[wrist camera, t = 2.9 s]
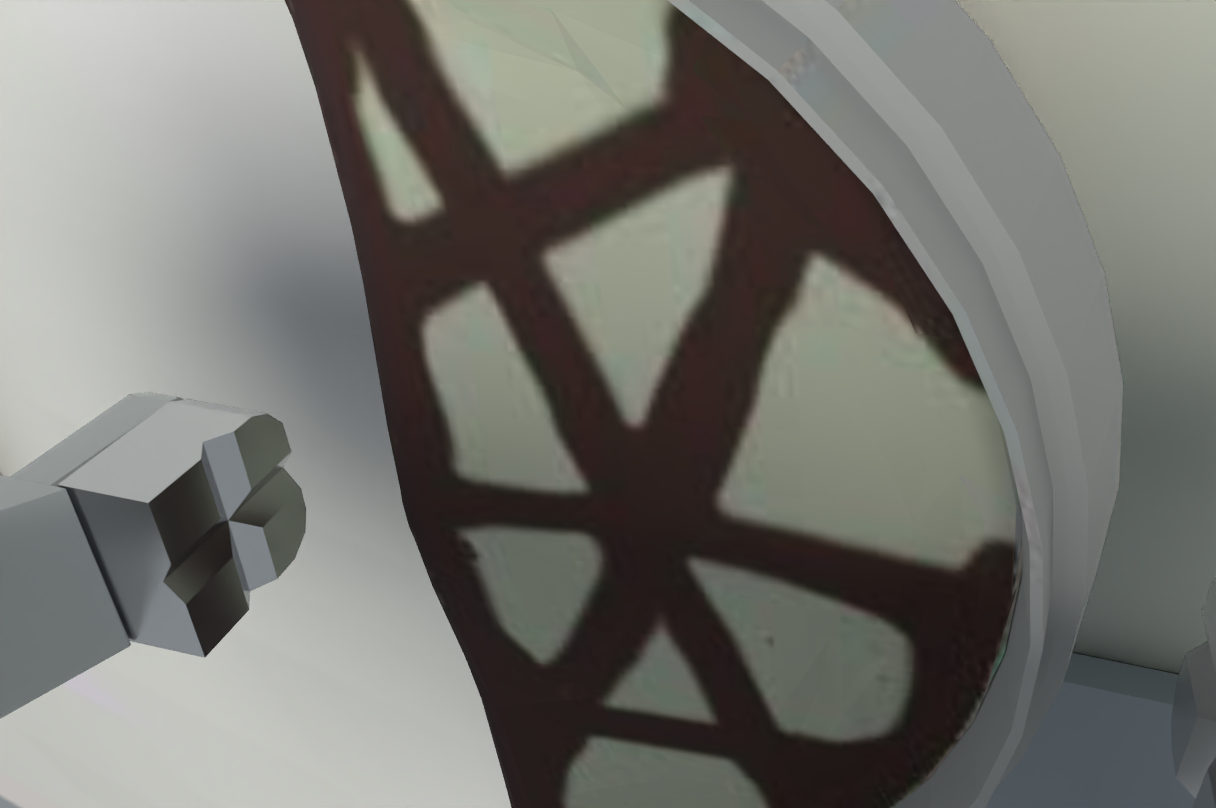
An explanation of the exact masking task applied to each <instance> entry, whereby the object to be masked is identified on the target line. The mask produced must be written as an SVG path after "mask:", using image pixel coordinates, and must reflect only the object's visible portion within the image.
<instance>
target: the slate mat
mask: <svg viewBox="0 0 1216 808" xmlns="http://www.w3.org/2000/svg"><path fill="white" fill-rule="evenodd" d="M1178 677H1179V675H1178V674H1173V673H1168V672H1163V671H1159V670H1154V669H1149V668H1144V667H1139V666H1134V665H1129V664H1124V663H1119V662H1115V661H1110V660H1105V659H1100V658H1095V657H1090V656H1085V655H1080V654H1075V653H1072V654H1071V658H1070V661H1069V664H1068V667H1067V671H1066V674H1065V677H1064V680H1063V683H1062V685H1061V687H1060V689H1059V691H1058V693H1057V695H1056V697H1055V698H1054V700H1053V702H1052V704H1051V706H1050V708H1049V710H1048V712H1047V713H1046V715H1045V717H1044V719H1043V721H1042V723H1041V725H1040V726H1039V728H1038V730H1037V732H1036V734H1035V736H1034V738H1033V739H1032V741H1031V743H1030V745H1029V747H1028V749H1027V751H1026V752H1025V754H1024V756H1023V758H1022V759H1021V760H1020V761H1019V762H1018V763H1017V764H1016V765H1015V767H1014V768H1013V769H1012V770H1011V771H1010V772H1009V773H1008V775H1007V776H1006V777H1005V778H1004V779H1003V780H1002V781H1001V782H1000V784H999V785H998V786H997V787H996V788H995V790H994V792H993V794H992V796H991V798H990V800H989V802H988V804H987V806H986V807H985V808H1192V807H1193V804H1194V802H1195V798H1194V796H1193V795H1192V794H1191V793H1190V792H1189V791H1188V790H1187V789H1186V788H1185V787H1184V786H1183V784H1182V783H1181V782H1180V781H1179V780H1178V779H1177V778H1176V775H1175V768H1174V761H1173V754H1172V741H1171V717H1172V710H1173V702H1174V695H1175V688H1176V684H1177V681H1178Z"/></svg>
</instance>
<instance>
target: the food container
mask: <svg viewBox="0 0 1216 808" xmlns="http://www.w3.org/2000/svg"><path fill="white" fill-rule="evenodd" d="M285 2H286V4H287V7H288V9H289V11H290V14H291V16H292V18H293V21H294V24H295V27H296V30H297V33H298V36H299V39H300V42H301V45H302V48H303V51H304V54H305V57H306V60H307V63H308V66H309V69H310V72H311V75H312V78H313V81H314V84H315V87H316V91H317V95H318V99H319V103H320V106H321V110H322V114H323V118H324V122H325V126H326V129H327V133H328V137H329V141H330V145H331V149H332V152H333V156H334V160H335V164H336V168H337V172H338V176H339V179H340V183H341V187H342V191H343V195H344V199H345V202H346V206H347V210H348V214H349V218H350V222H351V225H352V230H353V235H354V240H355V245H356V250H357V255H358V259H359V264H360V269H361V274H362V279H363V284H364V289H365V295H366V301H367V307H368V313H369V319H370V325H371V331H372V337H373V343H374V349H375V355H376V361H377V367H378V373H379V379H380V385H381V391H382V397H383V403H384V409H385V414H386V420H387V426H388V431H389V436H390V441H391V446H392V450H393V455H394V460H395V465H396V470H397V475H398V479H399V484H400V489H401V495H402V502H403V505H404V509H405V513H406V517H407V520H408V524H409V527H410V529H411V532H412V534H413V536H414V539H415V541H416V544H417V546H418V549H419V551H420V554H421V557H422V559H423V562H424V565H425V567H426V570H427V573H428V575H429V578H430V581H431V583H432V586H433V588H434V590H435V592H436V594H437V597H438V599H439V601H440V603H441V605H442V607H443V610H444V612H445V614H446V616H447V618H448V620H449V623H450V625H451V627H452V629H453V631H454V633H455V636H456V638H457V640H458V642H459V644H460V646H461V649H462V651H463V653H464V655H465V657H466V660H467V662H468V665H469V668H470V670H471V673H472V675H473V678H474V680H475V683H476V686H477V688H478V691H479V693H480V696H481V698H482V702H483V705H484V709H485V712H486V716H487V720H488V723H489V727H490V730H491V734H492V737H493V741H494V745H495V748H496V752H497V755H498V759H499V762H500V766H501V770H502V773H503V777H504V780H505V784H506V788H507V791H508V795H509V799H510V803H511V807H512V808H985V807H986V806H987V804H988V802H989V800H990V798H991V796H992V794H993V792H994V790H995V788H996V787H997V786H998V785H999V784H1000V782H1001V781H1002V780H1003V779H1004V778H1005V777H1006V776H1007V775H1008V773H1009V772H1010V771H1011V770H1012V769H1013V768H1014V767H1015V765H1016V764H1017V763H1018V762H1019V761H1020V760H1021V759H1022V758H1023V756H1024V754H1025V752H1026V751H1027V749H1028V747H1029V745H1030V743H1031V741H1032V739H1033V738H1034V736H1035V734H1036V732H1037V730H1038V728H1039V726H1040V725H1041V723H1042V721H1043V719H1044V717H1045V715H1046V713H1047V712H1048V710H1049V708H1050V706H1051V704H1052V702H1053V700H1054V698H1055V697H1056V695H1057V693H1058V691H1059V689H1060V687H1061V685H1062V683H1063V680H1064V677H1065V674H1066V671H1067V667H1068V664H1069V661H1070V658H1071V654H1072V651H1073V648H1074V645H1075V641H1076V638H1077V635H1078V632H1079V629H1080V625H1081V622H1082V619H1083V616H1084V612H1085V609H1086V606H1087V603H1088V599H1089V596H1090V593H1091V590H1092V586H1093V583H1094V580H1095V577H1096V573H1097V570H1098V566H1099V562H1100V558H1101V554H1102V550H1103V546H1104V543H1105V539H1106V535H1107V531H1108V527H1109V523H1110V519H1111V516H1112V512H1113V508H1114V504H1115V500H1116V496H1117V492H1118V489H1119V480H1120V455H1121V430H1122V404H1123V379H1122V373H1121V367H1120V361H1119V355H1118V349H1117V343H1116V337H1115V331H1114V325H1113V319H1112V314H1111V308H1110V302H1109V296H1108V290H1107V284H1106V278H1105V272H1104V269H1103V267H1102V264H1101V261H1100V259H1099V256H1098V254H1097V251H1096V248H1095V246H1094V243H1093V240H1092V238H1091V235H1090V232H1089V230H1088V227H1087V224H1086V222H1085V219H1084V216H1083V214H1082V211H1081V208H1080V206H1079V203H1078V200H1077V198H1076V195H1075V192H1074V190H1073V187H1072V185H1071V182H1070V179H1069V177H1068V174H1067V171H1066V169H1065V166H1064V163H1063V161H1062V158H1061V156H1060V154H1059V152H1058V151H1057V149H1056V147H1055V146H1054V144H1053V142H1052V141H1051V139H1050V137H1049V136H1048V134H1047V132H1046V131H1045V129H1044V128H1043V126H1042V124H1041V123H1040V121H1039V119H1038V118H1037V116H1036V114H1035V113H1034V111H1033V109H1032V108H1031V106H1030V104H1029V103H1028V101H1027V99H1026V98H1025V96H1024V95H1023V93H1022V91H1021V90H1020V88H1019V86H1018V85H1017V83H1016V81H1015V80H1014V78H1013V76H1012V75H1011V73H1010V71H1009V70H1008V68H1007V67H1006V65H1005V63H1004V62H1003V60H1002V58H1001V57H1000V55H999V53H998V52H997V50H996V48H995V47H994V45H993V43H992V42H991V40H990V39H989V38H988V37H987V36H986V35H985V33H984V32H983V31H982V30H981V29H980V28H979V27H978V25H977V24H976V23H975V22H974V21H973V20H972V19H971V18H970V16H969V15H968V14H967V13H966V12H965V11H964V10H963V8H962V7H961V6H960V5H959V4H958V3H957V2H956V1H955V0H285Z"/></svg>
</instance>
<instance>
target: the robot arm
mask: <svg viewBox="0 0 1216 808" xmlns="http://www.w3.org/2000/svg"><path fill="white" fill-rule="evenodd" d="M290 453H291V449H290V446H289V443H288V439H287V436H286V433H285V430H284V427H283V423H281V422H280V421H278V420H277V419H275V418H273V417H272V416H270V415H269V414H267V413H261V412H256V411H251V410H245V409H240V408H235V407H229V406H224V405H219V404H213V403H208V402H203V401H197V400H192V399H182V398H179V397H173V396H167V395H161V394H156V393H150V392H147V393H138V394H129V395H128V396H127V397H125V398H124V399H122V400H121V401H119V402H118V403H116V404H115V405H113V406H112V407H111V408H109V409H108V410H106V411H105V412H103V413H102V414H100V415H99V416H98V417H96V418H95V419H93V420H92V421H90V422H89V423H87V424H86V425H85V426H83V427H82V428H80V429H79V430H77V431H76V432H74V433H73V434H72V435H70V436H69V437H67V438H66V439H64V440H63V441H61V442H60V443H59V444H57V445H56V446H54V447H53V448H51V449H50V450H48V451H47V452H46V453H44V454H43V455H41V456H40V457H38V458H37V459H35V460H34V461H33V462H31V463H30V464H28V465H27V466H25V467H24V468H22V469H21V470H20V471H18V472H17V473H15V474H14V475H12V476H11V477H7V476H2V475H0V718H2V717H4V716H6V715H8V714H9V713H11V712H13V711H15V710H17V709H18V708H20V707H22V706H24V705H26V704H27V703H29V702H31V701H33V700H34V699H36V698H38V697H40V696H42V695H43V694H45V693H47V692H49V691H51V690H52V689H54V688H56V687H58V686H59V685H61V684H63V683H65V682H67V681H68V680H70V679H72V678H74V677H76V676H77V675H79V674H81V673H83V672H84V671H86V670H88V669H90V668H92V667H93V666H95V665H97V664H99V663H101V662H102V661H104V660H106V659H108V658H109V657H111V656H113V655H115V654H117V653H118V652H120V651H122V650H124V649H126V648H127V647H129V646H130V645H131V643H130V641H133V642H137V643H142V644H146V645H151V646H155V647H160V648H164V649H169V650H173V651H178V652H182V653H187V654H191V655H196V656H200V657H206V656H207V655H208V654H209V652H210V651H211V650H212V649H213V648H214V647H215V646H216V645H217V644H218V643H219V642H220V641H221V639H222V638H223V637H224V636H225V635H226V634H227V633H228V632H229V631H230V630H231V629H232V628H233V626H234V625H235V624H236V623H237V622H238V621H239V620H240V619H241V618H242V617H243V616H244V615H245V613H246V612H247V611H248V610H249V602H250V591H251V590H254V589H256V588H258V587H260V586H262V585H265V584H267V583H269V582H271V581H273V580H276V579H277V578H278V577H279V576H280V575H281V574H282V573H283V572H284V570H285V569H286V568H287V567H288V566H289V565H290V563H291V562H292V561H293V560H294V559H295V557H296V554H297V551H298V549H299V546H300V544H301V541H302V539H303V536H304V534H305V524H306V507H305V503H304V499H303V495H302V491H301V488H300V487H299V486H298V484H297V483H296V482H295V481H294V480H293V479H292V477H291V476H290V475H289V474H288V473H287V472H286V470H285V469H284V468H283V467H284V465H285V463H286V461H287V459H288V457H289V455H290ZM1202 614H1203V618H1204V623H1205V628H1206V633H1207V637H1208V641H1207V642H1205V643H1204V644H1202V645H1200V646H1198V647H1197V648H1195V649H1193V650H1191V651H1189V652H1188V653H1186V655H1185V658H1184V661H1183V665H1182V668H1181V671H1180V674H1179V677H1178V681H1177V684H1176V688H1175V695H1174V702H1173V710H1172V717H1171V741H1172V754H1173V761H1174V768H1175V775H1176V778H1177V779H1178V780H1179V781H1180V782H1181V783H1182V784H1183V786H1184V787H1185V788H1186V789H1187V790H1188V791H1189V792H1190V793H1191V794H1192V795H1193V796H1194V798H1195V802H1194V804H1193V807H1192V808H1216V578H1215V579H1214V581H1213V582H1212V584H1211V586H1210V589H1209V591H1208V594H1207V597H1206V599H1205V602H1204V605H1203V607H1202Z"/></svg>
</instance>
